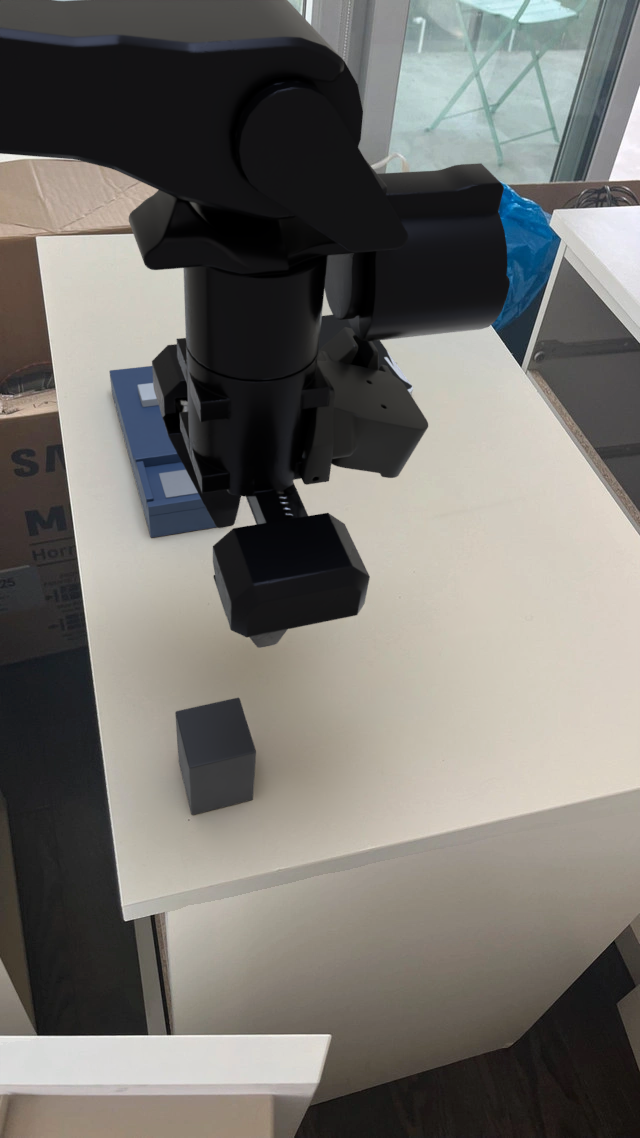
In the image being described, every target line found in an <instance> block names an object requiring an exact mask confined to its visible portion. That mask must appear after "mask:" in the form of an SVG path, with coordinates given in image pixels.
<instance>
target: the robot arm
mask: <svg viewBox="0 0 640 1138" xmlns="http://www.w3.org/2000/svg"><path fill="white" fill-rule="evenodd" d="M363 117H364V108H363V105H362V101H361V95H360V89H359V84H358V82H357V81H356V79H355V78H354V75H353V73H352V72H351V70H350V69H349V67H348V65H347V63H346V61H345V60H344V59H343V58H342V57H341V56H340V54H339V53H338V52H337V51H336V50H335V49H334V48H333V47H332V46H331V44H329V43H328V42H327V40H326V39H325V38H324V37H323V36H322V35H321V34H320V33H319V32H318V31H317V30H316V29H315V28H314V26H312V25H311V23H309V21H308V20H307V19H306V18H305V17H304V16H303V14H301V13H300V11H298V10H297V8H296V7H294V5H293V4H292V3H291V2H290V1H289V0H0V155H13V156H27V157H38V158H39V157H40V158H51V159H63V160H74V161H79V162H84V163H87V164H92V165H96V166H100V167H103V168H107V169H111V170H114V171H116V172H118V173H121V174H123V175H125V176H127V177H130V178H132V179H134V180H136V181H139V182H140V183H143V184H145V185H147V186H149V187H151V188H154V189H156V190H157V191H156V192H155V193H154V194H153V195H151V196H149V197H148V198H146V199H145V200H143V202H141V203H140V204H139V205H138V206H137V207H135V208H134V209H133V210H132V211H131V212H130V213H129V215H128V223H129V226H130V228H131V231H132V234H133V237H134V239H135V243H136V245H137V248H138V250H139V253H140V256H141V258H142V262H143V264H144V266H145V268H147V269H149V270H151V271H162V270H163V271H164V270H175V269H183V294H184V295H183V296H184V297H183V299H184V325H185V327H184V329H185V337H181V338H176V343H174V344H167V345H166V346H165V347H164V348H163V349H162V350H161V351H160V352H159V353H158V354H157V355H156V357H154V358H153V359H152V360H151V366H152V371H153V386H154V392H155V395H156V398H157V401H158V404H159V407H160V411H161V415H162V418H163V421H164V424H165V427H166V430H167V433H168V437H169V439H170V441H171V443H172V445H173V446H174V448H175V450H176V452H177V454H178V456H179V458H180V460H181V462H182V463H183V465H184V467H185V469H186V471H187V473H188V475H189V477H190V479H191V480H192V482H193V484H194V486H195V488H196V490H197V492H198V494H199V496H200V498H201V500H202V501H203V503H204V505H205V507H206V509H207V511H208V513H209V515H210V516H211V518H212V520H213V522H214V524H215V526H216V527H215V528H218V529H223V528H228V527H232V526H234V525H235V523H236V520H237V516H238V512H239V508H240V504H241V500H242V497H245V498H246V501H247V504H248V507H249V508H250V509H249V510H250V512H251V514H252V517H253V519H254V522H255V524H251V525H245V526H244V525H243V526H239V527H233V528H231V529H230V531H228V532H227V533H226V534H225V535H224V536H223V537H221V538H220V539H219V540H218V541H217V542H216V543H215V544H214V545H212V565H213V572H214V574H213V576H212V577H213V580H214V584H215V586H216V589H217V592H218V597H219V599H220V602H221V605H222V609H223V611H224V614H225V617H226V619H227V622H228V625H229V629H230V631H232V632H233V633H236V634H238V635H241V636H243V637H245V638H249V639H250V640H251V641H252V643H253V644H254V646H255V647H256V648H258V649H262V648H266V647H271V646H276V645H277V644H278V643H279V642H280V641H281V639H282V638H283V636H284V635H285V634H286V632H287V631H288V630H291V629H296V628H300V627H305V626H306V627H307V626H312V625H317V624H321V623H326V622H330V621H335V620H341V619H346V618H351V617H355V616H358V615H359V613H360V612H361V610H362V609H363V607H364V606H365V603H366V599H367V595H368V594H367V593H368V588H369V583H370V578H371V577H370V574H369V571H368V570H367V568H366V566H365V564H364V562H363V559H362V558H361V557H362V556H361V555H360V553H359V550H358V549H357V546H356V544H355V542H354V541H353V539H352V536H351V534H350V532H349V530H348V528H347V526H346V523H344V522H343V521H342V520H340V519H338V518H336V517H335V516H334V515H332V514H330V513H329V512H324V513H318V514H311V515H309V514H308V512H307V509H306V508H305V506H304V503H303V501H302V498H301V496H300V494H299V491H298V489H297V486H296V485H295V483H294V480H302V483H303V485H306V486H307V485H314V484H320V483H326V482H327V483H328V482H329V481H330V476H331V469H332V466H335V467H338V468H342V469H348V470H355V471H362V472H368V473H375V474H379V475H380V476H381V477H382V478H385V479H386V478H387V479H394V478H395V479H396V478H397V477H399V476H400V474H401V472H402V471H403V469H404V468H405V466H406V465H407V463H408V461H409V459H410V458H411V456H412V455H413V453H414V451H415V450H416V448H417V446H418V444H419V443H420V441H421V440H422V438H423V436H424V435H425V433H426V432H427V430H428V428H429V422H428V420H427V418H426V416H425V415H424V413H423V412H422V410H421V409H420V407H419V405H418V404H417V402H416V400H415V399H414V398H413V395H412V396H411V394H410V393H409V391H408V390H407V388H406V387H405V385H404V384H403V383H402V382H401V381H400V380H399V379H398V378H396V377H395V376H393V375H392V373H391V371H390V370H389V368H388V367H387V366H385V365H381V366H380V368H379V370H378V361H379V354H378V350H377V349H376V347H375V345H374V344H373V342H372V341H378V340H380V341H386V340H387V341H388V340H397V339H404V338H406V339H407V338H414V337H424V336H432V335H443V334H450V333H451V334H452V333H460V332H461V333H462V332H468V331H470V332H471V331H478V330H479V331H480V330H484V329H487V328H489V327H491V326H492V325H493V324H494V323H496V321H497V320H498V318H499V316H500V314H501V313H502V311H503V309H504V306H505V304H506V301H507V298H508V294H509V290H510V286H511V285H510V284H511V281H510V278H509V276H508V246H507V240H506V233H505V228H504V225H503V221H502V218H501V215H500V211H499V210H500V207H501V202H502V198H503V194H504V190H505V186H504V185H503V184H502V182H500V181H501V180H499V179H498V178H497V177H496V176H495V175H494V174H493V173H492V172H491V171H490V170H489V169H488V168H487V167H486V166H485V165H484V164H483V163H482V162H481V163H461V164H454V165H451V166H447V167H445V168H442V169H436V170H423V171H422V170H421V171H403V172H381V173H380V172H379V173H377V172H376V171H375V169H374V168H373V167H372V165H371V164H370V163H369V162H368V160H367V159H366V158H365V157H364V154H362V152H361V150H360V148H359V145H360V143H361V141H362V140H361V139H362V131H363V129H362V128H363ZM324 297H325V298H326V301H327V304H328V307H329V309H330V312H331V315H334V316H335V317H336V318H337V319H339V320H346V319H348V321H349V323H350V325H351V328H352V329H351V328H347V327H345V328H343V329H342V330H341V331H340V332H339V333H338V334H336V335H335V336H334V337H333V338H332V339H331V340H330V341H328V342H327V343H326V344H325V345H324V346H323V347H322V348H321V349H320V350H319V352H318V348H319V338H320V328H321V318H322V316H323V307H324Z"/></svg>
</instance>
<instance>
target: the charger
mask: <svg viewBox="0 0 640 1138" xmlns="http://www.w3.org/2000/svg"><path fill="white" fill-rule="evenodd" d="M174 714H175V729H176V744H177V760H178V765H179V769H180V774H181V778H182V782H183V785H184V790H185V794H186V799H187V802H188V806H189V811H190V814H191V816H196V815H198V814H202V813H206V812H210V811H215V810H219V809H222V808H226V807H229V806H234V805H237V804H241V803H245V802H250V801H253V800H254V791H255V789H254V788H255V775H256V757H257V750H256V747H255V744H254V740H253V737H252V733H251V730H250V728H249V727H250V726H249V724H248V720H247V717H246V714H245V711H244V708H243V703H242V701H241V698H240V697H234V698H229V699H225V700H219V701H216V702H212V703H207V704H202V705H197V706H194V707H189V708H184V709H179V710H176V711H175V713H174Z"/></svg>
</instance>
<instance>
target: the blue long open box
mask: <svg viewBox="0 0 640 1138" xmlns="http://www.w3.org/2000/svg"><path fill="white" fill-rule="evenodd" d="M109 378H110V388H111V389H110V390H111V395H112V399H113V402H114V406H115V410H116V413H117V418H118V421H119V424H120V428H121V432H122V436H123V439H124V444H125V447H126V451H127V455H128V458H129V462H130V465H131V469H132V473H133V476H134V481H135V485H136V489H137V491H138V496H139V500H140V503H141V507H142V511H143V514H144V518H145V521H146V526H147V530H148V533H149V536H150V538H151V539H152V538H159V537H165V536H171V535H178V534H183V533H188V532H195V531H202V530H207V529H213V528H217V527H216V526H215V524H214V522H213V520H212V518H211V516H210V515H209V513H208V511H207V509H206V507H205V505H204V503H203V501H202V500H201V498H200V496H199V494H198V492H197V490H196V488H195V486H194V484H193V482H192V480H191V479H190V477H189V475H188V473H187V471H186V469H185V467H184V465H183V463H182V462H181V460H180V458H179V456H178V454H177V452H176V450H175V448H174V446H173V445H172V443H171V441H170V439H169V437H168V433H167V430H166V427H165V424H164V421H163V418H162V415H161V411H160V407H159V404H158V401H157V398H156V395H155V392H154V386H153V371H152V365H148V366H138V367H130V368H129V367H128V368H119V369H111V370H109Z"/></svg>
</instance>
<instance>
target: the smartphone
mask: <svg viewBox="0 0 640 1138" xmlns="http://www.w3.org/2000/svg"><path fill="white" fill-rule="evenodd" d="M345 327H347V328H351V325H350V323H349V321H348V319H346V320H339V319H337V318H336V317H335V316H334V315H333V314H324V315H322V318H321V328H320V338H319V348H318V352H319V350H320V349H321V348H322V347H323V346H324V345H325V344H326V343H327V342H328V341H330V340H331V339H332V338H333V337H334V336H335V335H336V334H338V333H339V332H340V331H341V330H342V329H343V328H345ZM351 329H352V328H351ZM372 342H373V344H374V345H375V347H376V349H377V350H378V354H379V361H378V370H379V368H380V366H381V365H385V366H387V367H388V368H389V370H390V371H391V373H392V375H393V376H395V377H396V378H398V379H399V380H400V381H401V382H402V383H403V384H404V385H405V387H406V388H407V390H408V391H409V393H410V394H411V396H412V397H413V392H414V386H413V384H412V383H411V382H410V381H409V379H408V378H407V376H406V375H405V374H404V372H403V370H402V369H401V368H400V366H399V365H398V363H397V362H396V361H395V359H394V358H393V357H392V355H391V354H390V352H389V351H388V350H387V348H386V346H384V344H383V343H382V340H378V341H372Z"/></svg>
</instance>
